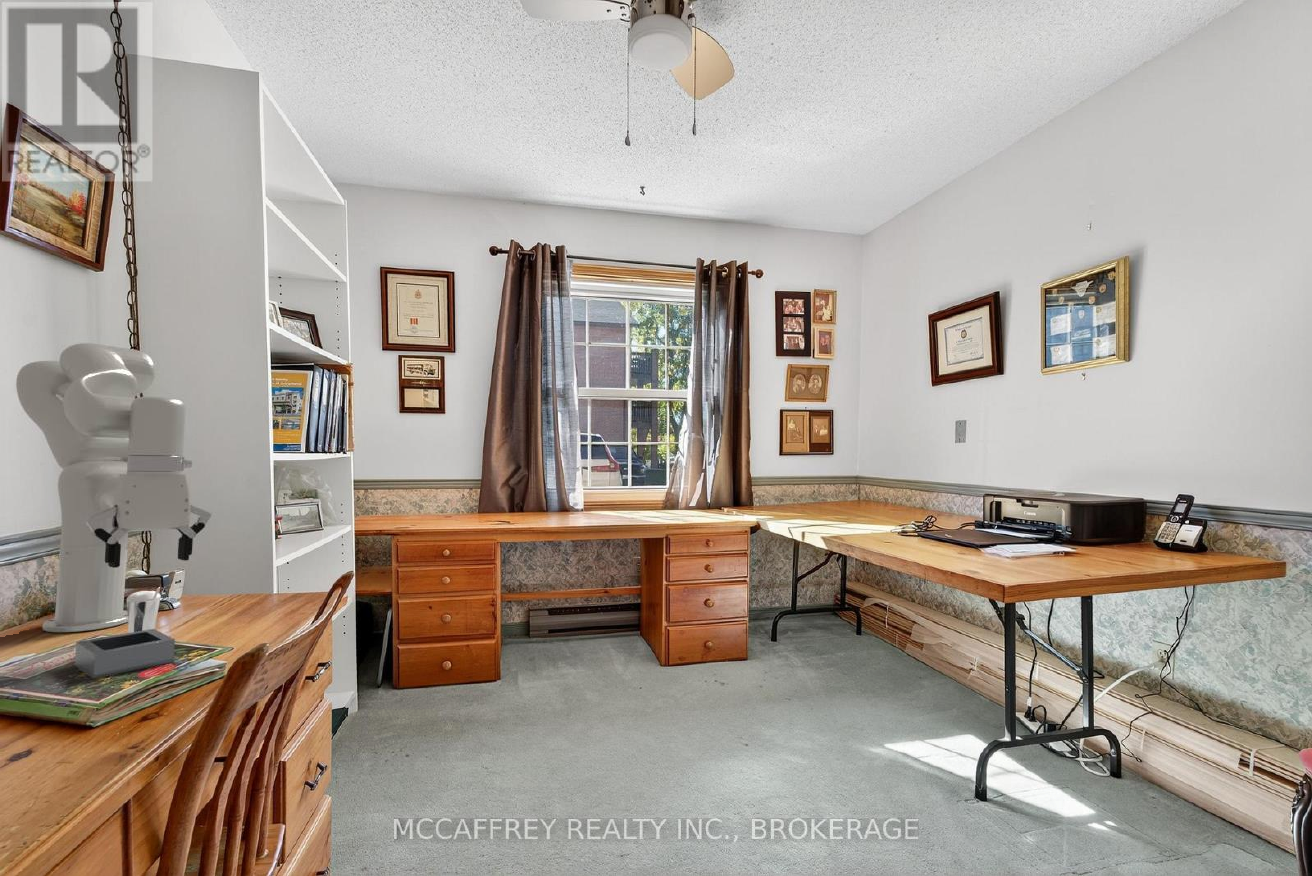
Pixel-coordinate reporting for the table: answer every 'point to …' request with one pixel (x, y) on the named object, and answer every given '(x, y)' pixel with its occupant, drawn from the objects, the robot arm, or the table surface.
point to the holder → (123, 653)
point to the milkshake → (142, 610)
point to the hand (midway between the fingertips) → (149, 563)
